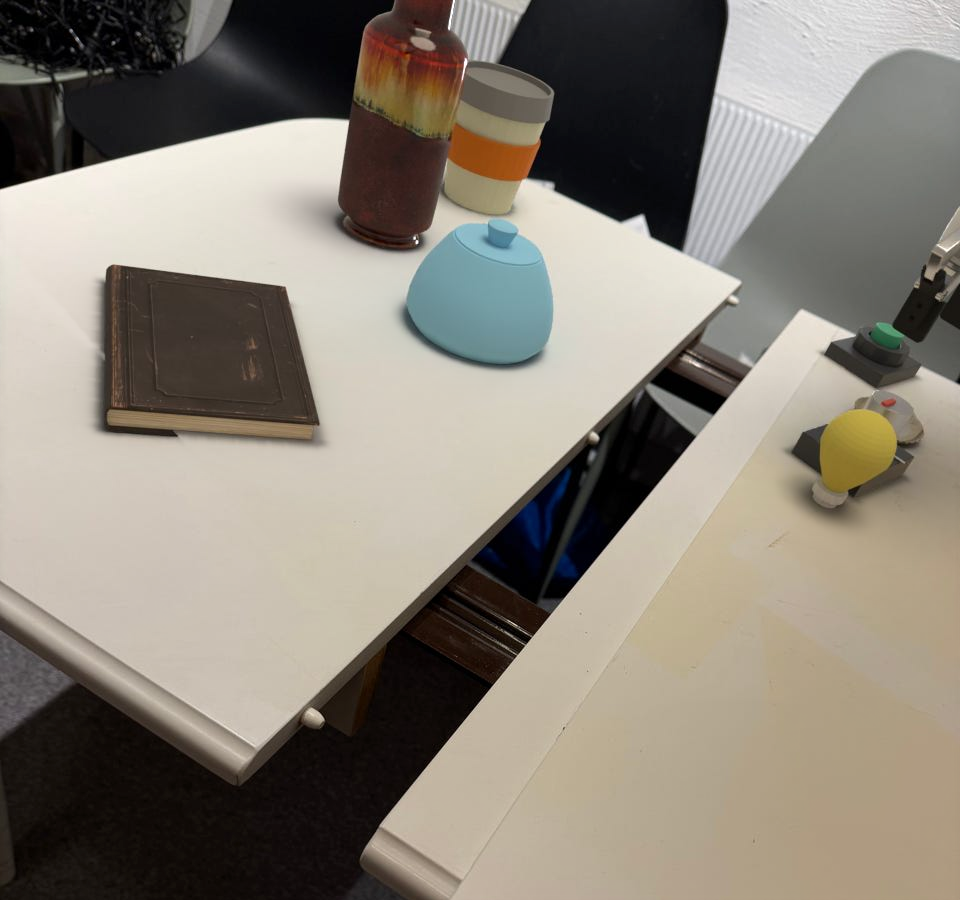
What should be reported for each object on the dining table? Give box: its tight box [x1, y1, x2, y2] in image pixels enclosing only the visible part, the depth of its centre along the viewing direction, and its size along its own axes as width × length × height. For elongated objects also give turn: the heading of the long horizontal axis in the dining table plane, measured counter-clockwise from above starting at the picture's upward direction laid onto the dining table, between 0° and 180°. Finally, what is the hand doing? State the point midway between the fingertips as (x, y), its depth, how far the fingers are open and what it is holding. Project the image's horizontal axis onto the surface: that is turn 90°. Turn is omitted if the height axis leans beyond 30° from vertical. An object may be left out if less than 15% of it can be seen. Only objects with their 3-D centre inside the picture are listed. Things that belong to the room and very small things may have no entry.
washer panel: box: [790, 422, 915, 498], centre depth 100 cm, size 11×9×3 cm
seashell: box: [853, 396, 925, 445], centre depth 109 cm, size 8×3×8 cm
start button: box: [870, 321, 905, 349], centre depth 119 cm, size 4×4×2 cm
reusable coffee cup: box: [443, 59, 555, 216], centre depth 123 cm, size 13×13×15 cm
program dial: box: [863, 389, 915, 439], centre depth 98 cm, size 4×4×5 cm
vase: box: [337, 0, 469, 251], centre depth 104 cm, size 11×11×26 cm
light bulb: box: [811, 409, 898, 509], centre depth 90 cm, size 7×7×10 cm
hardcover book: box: [103, 264, 321, 441], centre depth 83 cm, size 16×23×2 cm
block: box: [823, 325, 923, 389], centre depth 120 cm, size 10×8×4 cm
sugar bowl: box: [406, 218, 554, 365], centre depth 96 cm, size 15×15×12 cm
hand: (930, 329), depth 92 cm, fingers open, 9 cm apart
